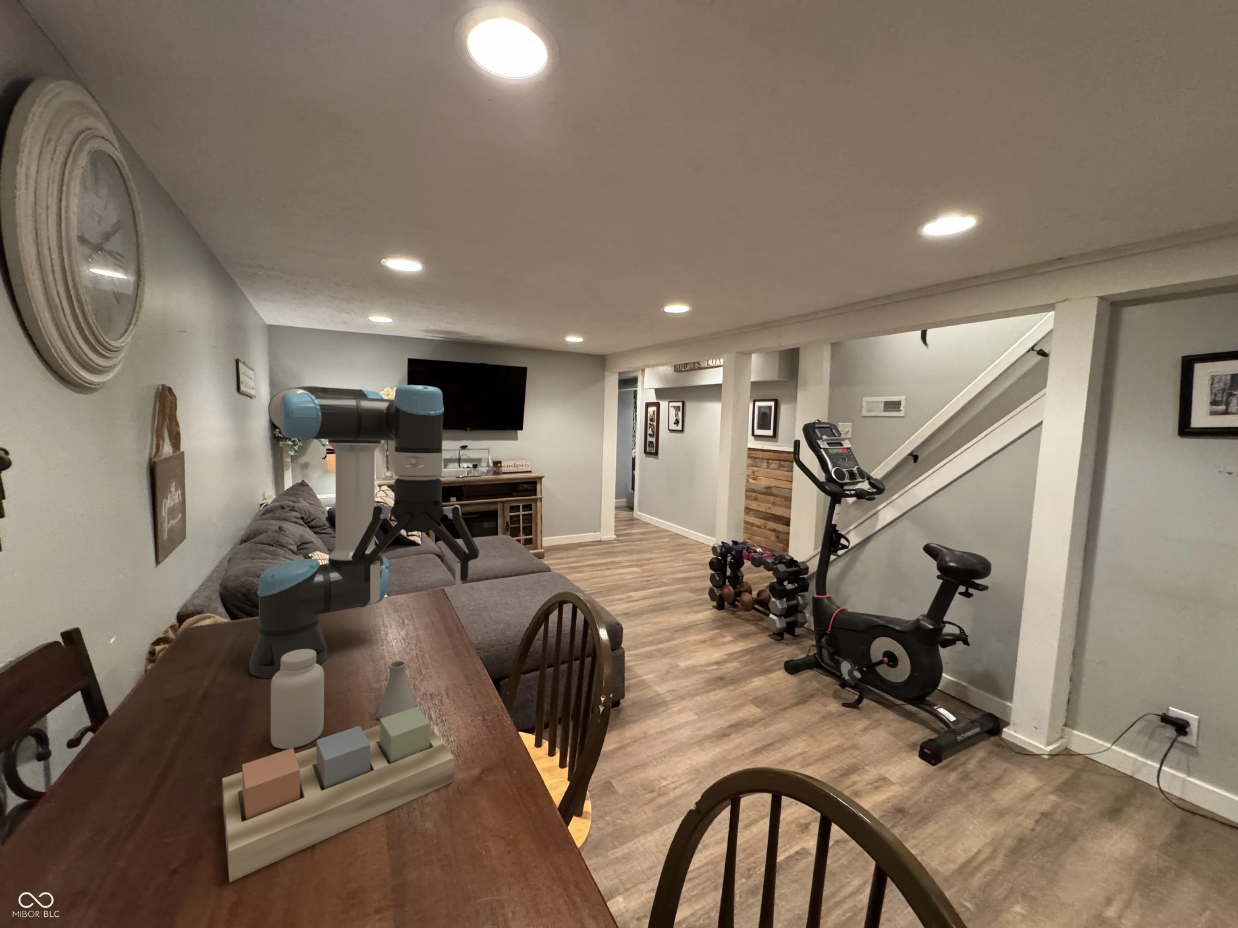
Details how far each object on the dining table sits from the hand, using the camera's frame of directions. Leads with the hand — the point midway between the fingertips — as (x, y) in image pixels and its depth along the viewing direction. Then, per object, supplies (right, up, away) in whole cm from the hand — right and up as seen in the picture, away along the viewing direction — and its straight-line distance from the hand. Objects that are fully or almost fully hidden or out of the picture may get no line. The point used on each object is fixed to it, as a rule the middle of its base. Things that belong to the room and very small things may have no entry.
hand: (417, 599), depth 85 cm
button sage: (0, -23, -4) cm, 23 cm away
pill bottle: (-23, -26, +3) cm, 34 cm away
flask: (-9, -26, +12) cm, 29 cm away
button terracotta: (-14, -23, -16) cm, 31 cm away
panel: (-7, -27, -10) cm, 29 cm away
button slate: (-7, -23, -10) cm, 26 cm away
